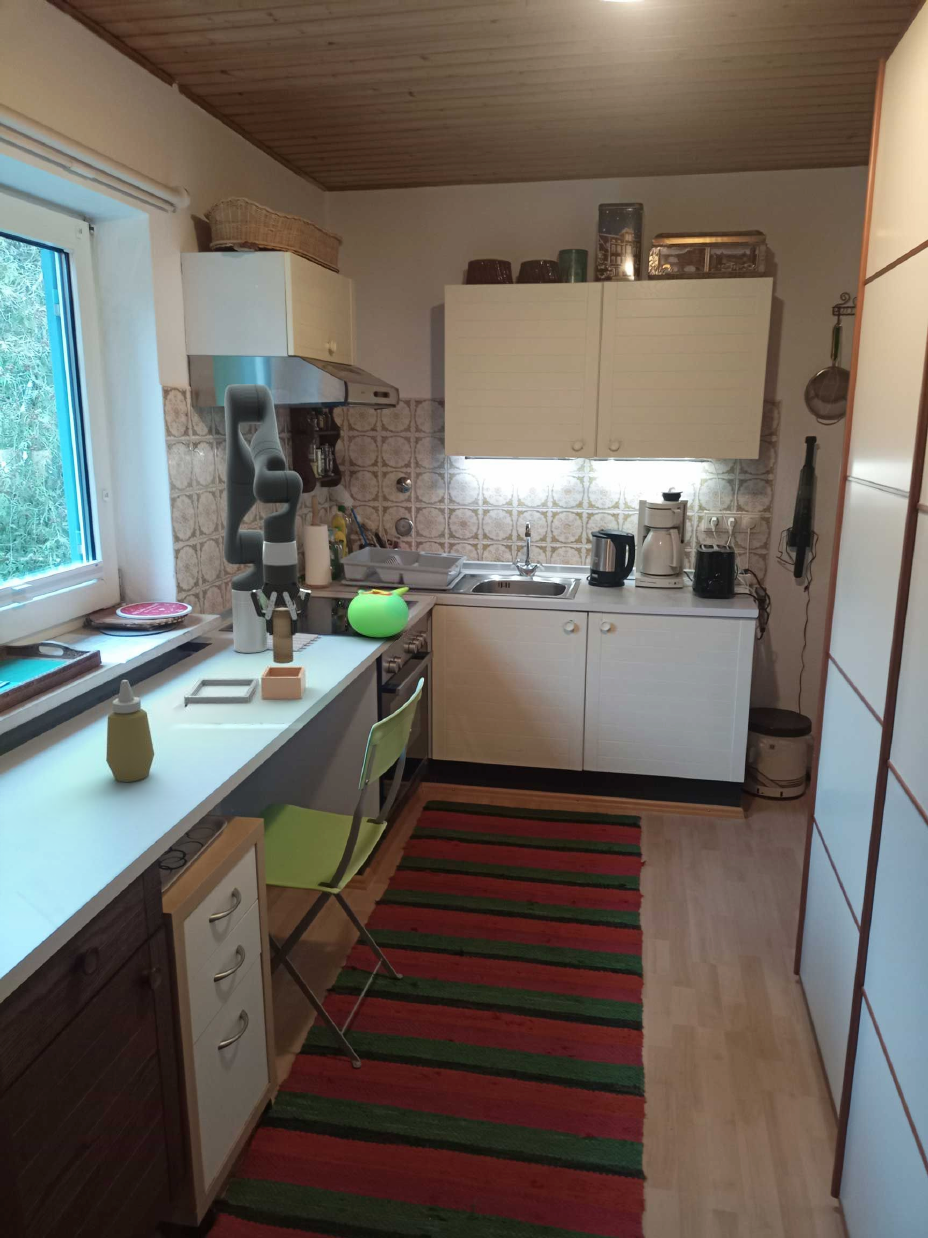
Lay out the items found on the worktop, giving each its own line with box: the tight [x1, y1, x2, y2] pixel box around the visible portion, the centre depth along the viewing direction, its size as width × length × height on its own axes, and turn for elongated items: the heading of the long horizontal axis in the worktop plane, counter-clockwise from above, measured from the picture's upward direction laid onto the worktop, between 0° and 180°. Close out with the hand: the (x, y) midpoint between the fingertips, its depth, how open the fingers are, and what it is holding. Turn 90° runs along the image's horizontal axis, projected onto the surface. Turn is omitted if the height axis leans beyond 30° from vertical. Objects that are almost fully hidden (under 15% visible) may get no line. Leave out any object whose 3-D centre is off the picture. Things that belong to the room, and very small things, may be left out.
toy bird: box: [347, 587, 410, 638], centre depth 256 cm, size 18×17×15 cm
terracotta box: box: [260, 666, 307, 700], centre depth 200 cm, size 9×9×6 cm
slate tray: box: [184, 677, 260, 708], centre depth 200 cm, size 14×14×2 cm
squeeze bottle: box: [105, 679, 155, 783], centre depth 154 cm, size 8×8×18 cm
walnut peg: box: [272, 607, 294, 665], centre depth 198 cm, size 4×4×12 cm
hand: (282, 634), depth 198 cm, fingers closed on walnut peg, 4 cm apart
